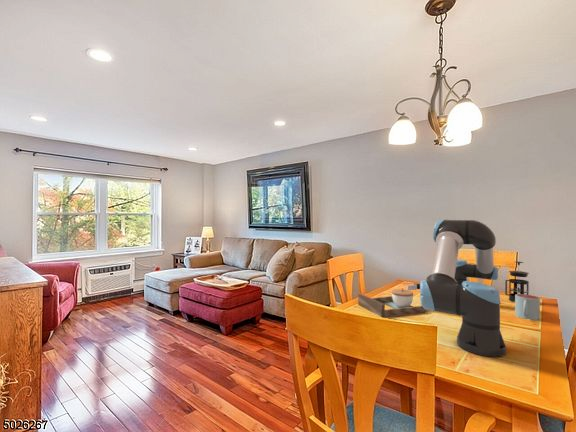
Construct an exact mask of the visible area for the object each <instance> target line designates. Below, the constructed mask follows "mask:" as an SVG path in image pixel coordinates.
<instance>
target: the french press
mask: <svg viewBox="0 0 576 432" xmlns="http://www.w3.org/2000/svg"><path fill="white" fill-rule="evenodd" d="M515 263H516V264H517V265H518V267H517V268H518V270H508V273H509V275H510V276H511V277H518V278H509V279H505V280H504V281H505V285H504V286H505V287H504V290H505V291H504V294H505V295H506V296H508V301H510V302H512V303H515V295H516V294H526V295H530V294H529V291H530V289H529V283H530V282H529V281H528V280H525V279H520V278H527V277H528V275H529V272H527V271H522V270H520V265H521V264H524V262H523V261H517V260H515ZM512 284H513V287H512ZM508 286H509V287H508ZM525 286H526V289H525ZM512 292H513V293H512Z"/></svg>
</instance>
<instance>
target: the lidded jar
mask: <svg viewBox="0 0 576 432" xmlns="http://www.w3.org/2000/svg"><path fill="white" fill-rule="evenodd" d="M391 296H392V299H393V302H394V303H395V304H396V306H397V307H400V308H407V307H408V306H410V305H411V306H412V303H413V299H414V292H412V290H407V289H404V288H399V289H396V288H395V289H392V290H391Z"/></svg>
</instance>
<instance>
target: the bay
mask: <svg viewBox="0 0 576 432" xmlns="http://www.w3.org/2000/svg"><path fill="white" fill-rule="evenodd" d="M357 298H358V299H357V300H358V301H357V305H358V306H359V307H362V308H364V309H365V310H368V311H370V312H371V311H372V312H371V313H373V314H375V315H378V316H379V317H380V318H386V317H393V316H394V317H395V316H402V315H403V316H404V315H411V314H413V315H414V314H420V313H426V309H424V308H423V307H422V305H418V306H413V305H412V304H411V305H410V306H408V307H407V308H400V307H397V306H396V304H395V303H394V302H393V299H392V295H391V296H380V297H369V296H367V295H365V294H363V293H358V296H357ZM385 306H387V307H390V308H389V309H385ZM383 316H384V317H383Z"/></svg>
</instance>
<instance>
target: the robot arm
mask: <svg viewBox="0 0 576 432" xmlns="http://www.w3.org/2000/svg"><path fill="white" fill-rule="evenodd" d="M495 235H496V234H494V232H493V230H492V229H491V228H490V227H488V226H487V224H484V223H482V222H480V221H479V220H472V219H469V220H467V219H439V220H437V221H436V222H435V224H434V226H433V233H432V237H433V241H434V243H436V245H437V249H436V253H435V257H434V261H433V267H432V271H431V273H430V274H429V275H427V277H426V278H425V279H422V280H420V283H413V284H407V285H406V290H408V291H414V290H415V291H417V290H419V294H420V304H421V306H422V307H423V308H424V309H425V311H432V312H433V313H434V312H437V313H441V314H442V313H443V314H447V315H453V316H454V315H455V316H459V317H461V318H462V321H461V323H462V324H461V326H460V328H459V330H458V333H457V336H456V345H457V346H458V347H460V348H461V349H463V350H465V351H467V352H469V353H472V354H475V355H479V356H483V357H491V358H492V357H493V358H494V357H495V358H496V357H497V358H498V357H504V356H506V354H507V347H506V343H505V341H504V337H503V335H502V331H501V306H500V305H501V304H502V303H501V296H500V295H501V294H500V290H498V289H497V288H495V287H494V286H491V285H487V284H485V283H481V282H478V281H469V280H468V278H470V279H471V278H474V279H480V280H481V279H482V280H488V281H491V280H493V281H497V280H498V279H499V267H498V266H494V265H495V263H494V247H495V245H496V243H497V239H496V238H497V237H496V236H495ZM463 245H472V246H473V247H474V251H475V259H476V260H475V262H476V263H475V264H474V263H473V264H471V263H468V261H467V260H465V259H458V257H459V251H460V249H461V248H462V247H463Z"/></svg>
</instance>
